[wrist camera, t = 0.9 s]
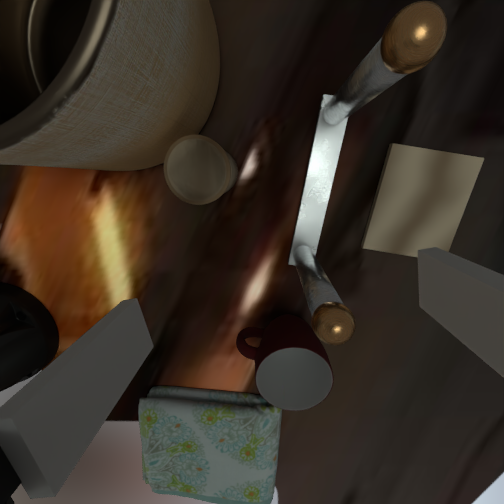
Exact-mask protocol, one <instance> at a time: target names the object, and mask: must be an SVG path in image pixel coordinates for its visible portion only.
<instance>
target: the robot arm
mask: <svg viewBox="0 0 504 504" xmlns="http://www.w3.org/2000/svg"><path fill="white" fill-rule="evenodd" d="M418 276H419V304H420V307H421V308H422V309H423V310H425V311H426V312H427V313H428V314H429V315H430V316H432V317H433V318H434V319H435V320H436V321H438V322H439V323H440V324H441V325H442V326H443V327H445V328H446V329H447V330H448V331H449V332H451V333H452V334H453V335H454V336H455V337H456V338H458V339H459V340H460V341H461V342H462V343H463V344H465V345H466V346H467V347H468V348H469V349H471V350H472V351H473V352H474V353H475V354H476V355H478V356H479V357H480V358H481V359H482V360H483V361H485V362H486V363H487V364H488V365H489V366H491V367H492V368H493V369H494V370H495V371H496V372H498V373H499V374H500V375H501V376H502V377H504V275H502V274H499V273H497V272H494V271H492V270H490V269H487V268H485V267H483V266H480V265H478V264H475V263H473V262H471V261H468V260H466V259H464V258H461V257H459V256H456V255H454V254H452V253H449V252H447V251H444V250H442V249H440V248H437V247H433V248H427V249H421V250H418ZM153 347H154V346H153V343H152V340H151V337H150V334H149V331H148V329H147V326H146V323H145V320H144V317H143V314H142V311H141V309H140V306H139V303H138V300H137V298H135V299H129V300H124V301H121V302H120V303H119V304H118V305H117V306H116V307H115V308H113V309H112V310H111V311H110V312H109V313H108V314H107V315H105V316H104V317H103V318H102V319H101V320H100V321H99V322H97V323H96V324H95V325H94V326H93V327H92V328H91V329H89V330H88V331H87V332H86V333H85V334H84V335H83V336H81V337H80V338H79V339H78V340H77V341H76V342H75V343H73V344H72V345H71V346H70V347H69V348H68V349H67V350H65V351H64V352H63V353H62V354H61V355H60V356H59V357H57V358H56V359H55V360H54V361H53V362H52V363H51V364H49V365H48V366H47V367H46V368H45V369H44V370H43V371H41V372H40V373H39V374H38V375H37V376H36V377H35V378H33V379H32V380H31V381H30V382H29V383H28V384H26V386H24V387H23V388H22V389H21V390H20V391H19V392H17V393H16V394H15V395H14V396H13V397H12V398H11V399H9V400H8V401H7V402H6V403H5V404H4V405H2V407H0V504H14V501H13V500H12V498H11V495H12V494H13V493H14V491H15V490H16V489H17V487H18V486H19V485H20V484H22V486H23V487H24V489H25V491H26V492H27V494H28V495H29V497H30V499H32V498H43V497H55V496H56V495H57V493H58V492H59V490H60V489H61V487H62V485H63V484H64V482H65V481H66V479H67V478H68V476H69V475H70V473H71V472H72V470H73V469H74V467H75V466H76V464H77V462H78V461H79V460H80V458H81V456H82V455H83V453H84V452H85V450H86V449H87V447H88V446H89V444H90V443H91V441H92V440H93V438H94V437H95V435H96V434H97V432H98V431H99V429H100V428H101V426H102V424H103V423H104V421H105V420H106V418H107V417H108V415H109V414H110V412H111V411H112V409H113V408H114V406H115V405H116V403H117V402H118V400H119V398H120V397H121V395H122V394H123V392H124V391H125V389H126V388H127V386H128V385H129V383H130V382H131V380H132V379H133V377H134V376H135V374H136V373H137V371H138V369H139V368H140V366H141V365H142V363H143V362H144V360H145V359H146V357H147V356H148V354H149V353H150V351H151V350H152V348H153ZM57 348H58V332H57V328H56V325H55V323H54V321H53V319H52V317H51V315H50V314H49V312H48V311H47V310H46V308H45V307H44V306H43V305H42V304H41V303H40V302H39V301H38V300H37V299H36V298H34V297H33V296H32V295H30V294H29V293H27V292H26V291H24V290H22V289H20V288H18V287H15V286H12V285H9V284H5V283H0V391H3V390H5V389H7V388H9V387H11V386H13V385H14V384H16V383H18V382H21V381H23V380H26V379H28V378H30V377H32V376H33V375H35V374H37V373H38V372H39V371H40V370H41V369H43V368H44V367H45V366H46V365H47V364H48V363H50V361H51V360H52V359H53V358H54V356H55V354H56V352H57Z"/></svg>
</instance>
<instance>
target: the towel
mask: <svg viewBox="0 0 504 504" xmlns="http://www.w3.org/2000/svg"><path fill="white" fill-rule="evenodd" d="M138 413H139V425H140V434H141V441H142V466H143V480H145V482H146V484H150V486H151V488H152V491H153V492H155V493H158V494H170V495H178V496H183V497H189V498H194V499H198V500H202V501H207V502H211V503H217V504H270V503H271V501H272V499H273V494H274V487H275V479H276V470H277V460H278V449H279V438H280V427H281V415H282V409H280V408H277V407H275V406H273V405H271V404H269V403H268V402H267V401H266V400H265V399H264V398H263V397H262V396H259V395H254V394H250V393H239V392H228V391H219V390H208V389H197V388H187V387H177V386H157V387H152V389H150V392H149V394H148V395H147V398H140V403H139V411H138Z"/></svg>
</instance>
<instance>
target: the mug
mask: <svg viewBox="0 0 504 504" xmlns="http://www.w3.org/2000/svg"><path fill="white" fill-rule="evenodd" d="M249 337H260V338H262V340H261V343H260V345H259V347H258V348H256V347H252V346H250V345H248V344H247V343H246V341H245V339H246V338H249ZM236 345H237V348H238V350H239V352H240V353H241V354H242V355H243V356H245V357H247V358H249V359H252V360H255V383H256V387H257V389H258V392H259V393H260V395H261V396H262V397H263V398H264V399H265V400H266V401H267V402H268V403H269V404H271V405H273V406H275V407H277V408H280V409H283V410H288V411H301V410H306V409H310V408H312V407H314V406H316V405H318V404H320V403H321V402H322V401H323V400H324V399H325V398H326V397H327V396H328V395H329V393H330V391H331V389H332V386H333V372H332V368H331V365H330V361H329V358H328V355H327V353H326V351H325V349H324V347H323V345H322V344H321V342H320V341H319V339H318V337H317V336H316V334H315V333H314V331H313V330H312V328H311V327H310V326H309V324H308V323H307V322H305V321H304V320H303V319H301V318H299V317H297V316H294V315H290V314H285V315H281V316H279V317H277V318H275V319H274V320H273V321H272V322H270V324H269V325H268V326H267V327H266V328H265V329H260V328H254V327H248V328H245V329H243V330H241V331H240V332H239V334H238V336H237V340H236Z"/></svg>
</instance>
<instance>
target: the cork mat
mask: <svg viewBox="0 0 504 504" xmlns="http://www.w3.org/2000/svg"><path fill="white" fill-rule="evenodd" d="M483 160H484V158H480V157H474V156H468V155H462V154H455V153H449V152H443V151H437V150H431V149H425V148H418V147H412V146H406V145H400V144H394V143H393V144H390V145H389V149H388V152H387V156H386V159H385V163H384V166H383V170H382V173H381V177H380V180H379V184H378V187H377V191H376V194H375V198H374V201H373V205H372V208H371V212H370V215H369V219H368V222H367V226H366V229H365V233H364V236H363V240H362V243H361V247H362V248H365V249H371V250H377V251H383V252H389V253H395V254H401V255H407V256H413V257H418V250H421V249H427V248H433V247H437V248H440V249H442V250H444V251H447V252H448V251H449V249H450V246H451V243H452V241H453V238H454V236H455V233H456V230H457V228H458V225H459V223H460V220H461V217H462V215H463V212H464V210H465V207H466V205H467V202H468V199H469V197H470V194H471V192H472V189H473V186H474V184H475V181H476V179H477V176H478V173H479V171H480V168H481V166H482V163H483Z"/></svg>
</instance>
